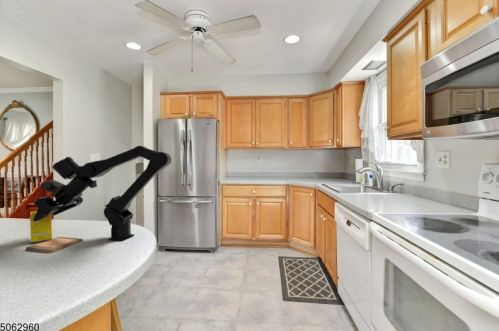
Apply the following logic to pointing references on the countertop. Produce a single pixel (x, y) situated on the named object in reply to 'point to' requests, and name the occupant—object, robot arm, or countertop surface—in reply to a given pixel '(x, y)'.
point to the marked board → (54, 244)
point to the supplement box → (40, 229)
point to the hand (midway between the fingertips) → (44, 217)
